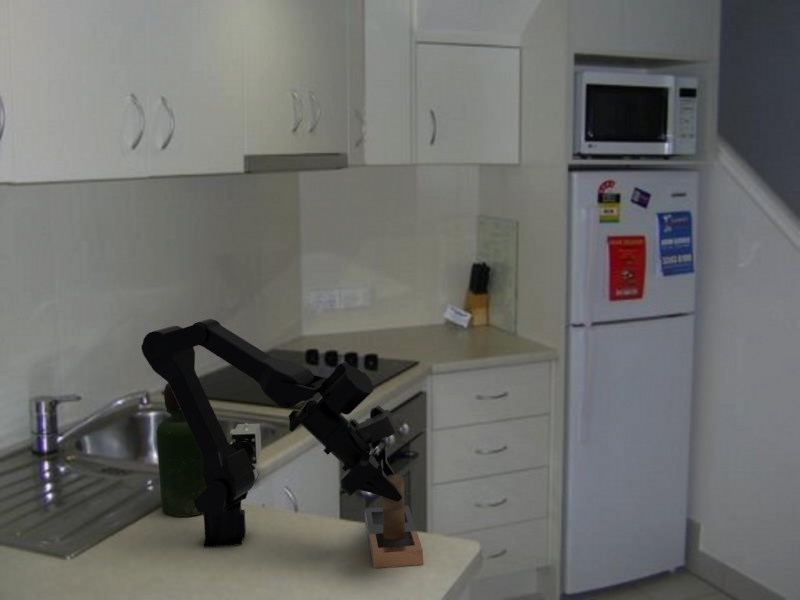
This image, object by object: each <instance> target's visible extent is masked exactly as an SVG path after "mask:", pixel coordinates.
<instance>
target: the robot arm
mask: <svg viewBox="0 0 800 600" xmlns="http://www.w3.org/2000/svg"><path fill="white" fill-rule="evenodd" d="M220 323H221V322H219V321H218V320H216V319H213V318H208V319H205V320H201V321H196V322H195V323H194V322H193V324H191V325H188V326H185V327H181V326H179V325H170V326H168V327H164V328H160V329H157V330H152V331H150V332H148V333H147V334H146V335H145V337H144V338H143V341H142V344H141V346H140V347H141V351H142V355H143V356H144V358H145V360H146V361H147V362H148V364H149V366H150V368H151V369H152V370H153V372H154V373H156V374H157V375H159V376H160V377H161V378H162V379H163V380H165V381H166V382H167V384H168V383H169V385H170V387H171V390H172V392H173V394H174V396H175V398H176V400H177V402H178V405H179V407H180V409H181V411H182V413H183V415H184V417H185V420H186V422H187V424H188V426H189V428H190V430H191V432H192V435H193V437H194V439H195V441H196V443H197V445H198V447H199V450H200V452H201V454H202V457H203V479H204V482H205V485H206V489H205V490H204V491H203V492H202V493H201V494H200V495H199V496H198V497H197V498H196V499H195V501H194V503H195V506H196V508H197V511H198V512H199V513H201V514H203V524H204V525H203V526H204V541H203V547H205V548H211V547H212V548H213V547H227V546H239V545H242V544H243V541H244V538H245V537H246V533H247V525H246V524H247V523H246V510H245V509H243V508H242V501H244V500H246V499H247V496H248V494H249V491H251V489H252V488H253V486H254V483H255V482H256V481H255V475H254V472H253V470H254V469H255V467H254V466H253V465H252V464H251V462H250V460H249V457H248V454H247V452H246V450H245V449H242V450H240V451H237V450H236V449H234V448H233V447H232V446H231V445H230V443H229V441H228V438H227V436H226V435H225V432H224V430H223V428H222V425H221V424H220V422H219V420H218V418H217V416H216V413H215V411H214V409H213V407H212V405H211V402H210V401H209V399H208V396H207V394H206V392H205V389H204V387H203V386H202V383H201V381H200V379H199V377H198V375H197V373H196V370H195V365H196V364H195V363H196V361H195V360H196V351H195V349H194V348H195V347H196V346H200V347H202V348H204V349H206V350H208V351H209V352H210V353H212V354H213V355H215V356H217V357H218V358H220V359H221V360H223V361H225V362H226V363H228V364H229V365H231V366H233V367H234V368H235V369H237V370H239V371H241V372H242V373H243V374H245V375H247V376H248V377H250V378H251V379H252V380H254V381H255V382H256V383H257V384H258V385H259V387H260V388H261V390H262V392H263V394H264V395H266V397H268V398H269V399H270V400H271V401H272V402H274V403H275V404H276V405H277V406H278V407H280V408H283V409H291V408H294V407H296V406H298V405H300V404H302V403H304V402H306V401H308V402H306V403H305V404H304V405H303V406H302V407H301V409H300V410H297V409H296V410H295V409H294V410H292V411H291V412H290V413H289V414H288V419H289V428H288V431H290V432H294V431H295V430H296V429H297V428H298V427H299V426H300V425H301V426H302V427H303V429H305V430H306V431H307V432H308V433H309V434H311V435H312V436H313V438H315V439H316V440H317V441H318V442H319V443H320V444H321V445H322V446H323V447H324V449H323V452H324V453H325V454H327V456H328V455H329V454H330V453H331V454H332V456H334V457H335V458H336V459H337V460H338V461H340V463H341V464H342V467H341V469H342V470H343V471H344V473H343V475H342V477H341V481H340V485H341V490H343V491H344V492H345V494H347V495H348V496H349V497H351V496H353V494H354V493H355V492H357V491H362V492H366V493H370V494H373V495H376V496H379V497H385V498H388V499H391V500H394V501H397V502H398V501H400V500H401V499H402V495H401V494H400V492H399V491H398V490H397V488H396V487H395V486H394V484H393V483H392V482H391V481H390V479H389V478H388V477H387V476H386V475H397V474H396V473H395V471H394V470H393V468H392V466H391V465H390V463H389V461H388V459H387V457H388V456H387V449H388V447H387V444H386V445H384V446H383V447H382V448H381V449H379V448H378V446H379V445H380V444H381V443H382V444H384V443H385V442H386V439H387V438H390V437H391V436H394V434H396V433H397V428H398V426H397V424H396V422H395V419H394V418H393V415H394V414H393V413H392V412H390V410H389V409H384V408H383V407H381V406H380V405H377V406H375V407H372V408H371V409H370V412H369V413H370V414H369V415H370V417H369V418H366V419H365V420H363V421H362V422H360V423H359V422H358V421H357V420H355V419H354V418H353V419H352V418H350V419H349V420H348V419H347V418H346V417H345V416H344V415H346V416H347V415H350V414H351V413H352V412H353V411H354V410H355V409H357V407H359V405H360V404H362V403H363V401H365V400H366V399H367V398H368V397H369V396H370V395H371V394H372V393H373V392H374V384H373V382H372V380H371V379H370V377H369V375H367V373H366V372H363V371H361V370H360V369H359V368H357V367H355V366H352V365H350V364H349V363H348V361H343V362H341V363H339V364H338V365H337V366H336V368H335V369H334V371H332V373H331V374H330V375H329V376H328V377H327V376H322V375H318V374H315V373H313V372H312V371H311V370H310V369H309V368H307V367H304V366H302V365H300V364H297V363H294V362H292V361H288V360H284V359H280V358H279V359H278V358H276V357H274V356H271V355H269V354H268V353H267V352H264V351H263V350H261V349H259V348H258V347H256V346H255V345H254V344H252V343H250V342H249V341H247V340H245V339H244V338H241V337H240V336H239V335H238V334H236V333H234V332H232V331H230V330H229V329H227V328H226V327H224V326H223V325H221V324H220ZM319 395H320V396H321V397H320V398H318V400H311V399H313V398H315V397H317V396H319Z"/></svg>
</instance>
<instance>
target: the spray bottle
mask: <svg viewBox="0 0 800 600" xmlns="http://www.w3.org/2000/svg"><path fill="white" fill-rule="evenodd" d="M163 398H164V399H163V400H164V407H165V408H166V413H168V414H169V415H170V416H169V417H167V418H164V419H163V420H162V421H161V422H160V423H159V425H158V426H157V429H156V441H157V443H156V445H157V459H158V472H159V473H158V476H159V487H160V488H159V489H160V490H159V491H160V503H161V510H162V512H164V513H165V514H167V515H170V516H175V517H189V516H197V515H201V514H202V513H199V512H198V511H197V508H196V506H195V503H194V501H195V499H196V498H197V497H198V496H199V495H200V494H201V493H202V492H203V491H204V490H205V489H206V485H205V482H204V479H203V457H202V454H201V452H200V450H199V447H198V445H197V443H196V441H195V439H194V437H193V435H192V432H191V430H190V428H189V426H188V424H187V422H186V420H185V417H184V415H183V413H182V411H181V409H180V407H179V405H178V402H177V400H176V398H175V396H174V394H173V392H172V390H171V387H170V385H169V383H168V382H167V383H166V384H165V386H164V391H163Z"/></svg>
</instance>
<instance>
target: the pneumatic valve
mask: <svg viewBox="0 0 800 600" xmlns="http://www.w3.org/2000/svg"><path fill="white" fill-rule="evenodd" d="M261 432H262V431H261V422H250V423H249V422H241V423H237V425H236V427H235V428H234V429H233V428H231V430H230V432H229V433H230V434H229V435H230V436H231V441H230V443H229V444H230V445H231V446H232V447H233V448H234V449H236V450H237V451H240V450H242V449H245V450H246V452H247V454H248V457H249V460H250V462H251V464H252V465H253V466H254V467H255V469H254V470H253V472H254V475H255V481H254V482H256V481H257V478H258V476H259V473H258V460H259V458H260V455H261V453H262V436H261V435H262V433H261Z"/></svg>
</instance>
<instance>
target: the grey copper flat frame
mask: <svg viewBox="0 0 800 600" xmlns="http://www.w3.org/2000/svg"><path fill="white" fill-rule="evenodd" d="M404 512H405V537H404V538H403V539H401V540H396V541H391V540H387V539H385V538H384V537H383V506H382V507H370V508H369V507H367V508H364V520H365V521H364V522H365V528H366V533H367V538H368V543H369V544H368V545H369V550H370V556H371V560H372V561H371V562H372V567H373V569H381V568H382V569H383V568H395V567H409V566H422V565H424V555H423V554H424V550H423V546H422V544H421V540H420V537H419V535H418V532H417V527H416V525H415V522H414V519H413V516H412V512H411V509H410V507H409V505H404Z"/></svg>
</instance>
